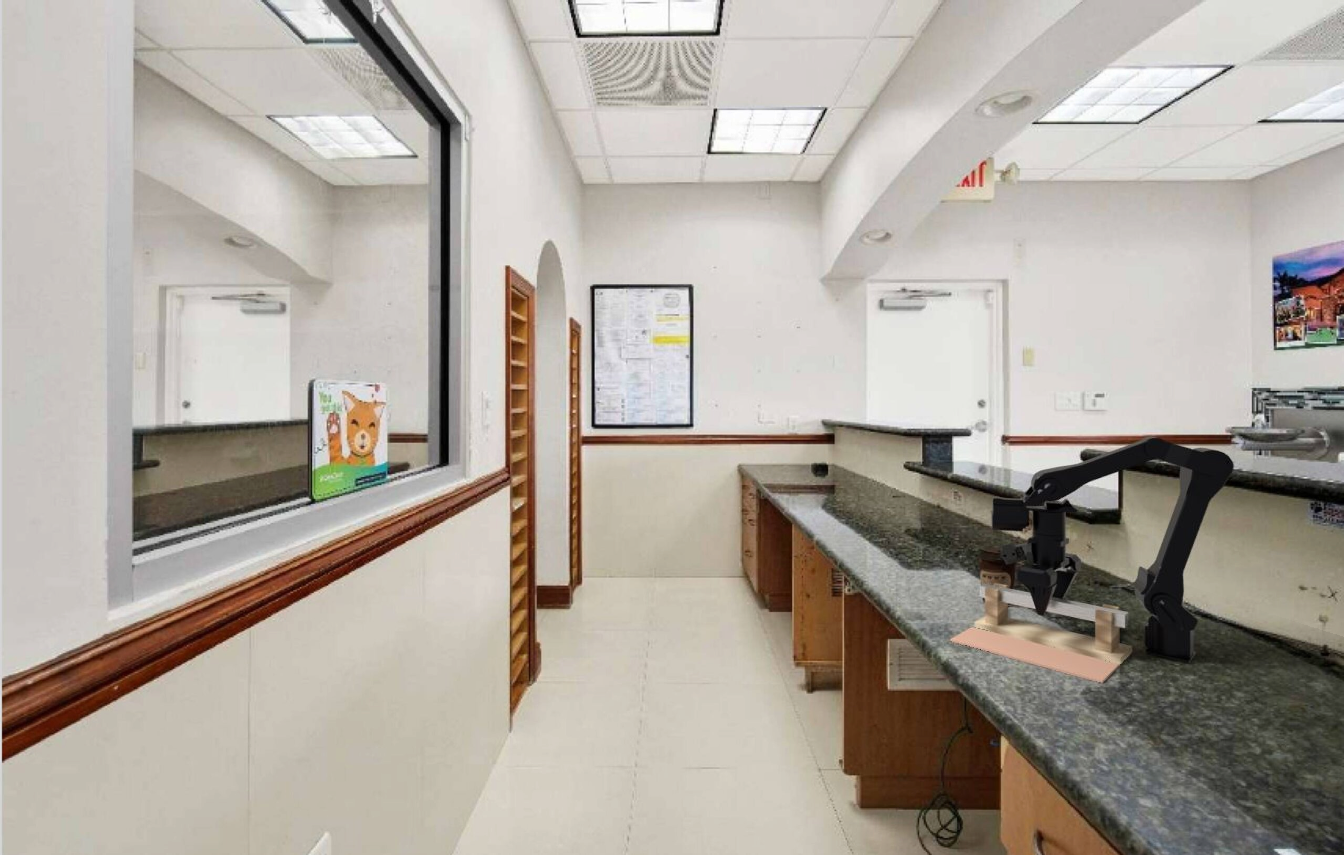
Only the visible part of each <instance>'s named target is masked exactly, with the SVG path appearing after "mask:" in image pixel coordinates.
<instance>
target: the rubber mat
mask: <svg viewBox="0 0 1344 855" xmlns="http://www.w3.org/2000/svg"><path fill="white" fill-rule="evenodd" d="M949 641H950V642H951V641H952V643H955V644H958V643H959V645H962V646H965V645H967V646H966V647H969V646H970V648H973V647H974V648H973V649H976V648H978V649H977V650H980V649H981V651H984V650H985V651H984V652H987V651H989V652H988V653H992V654H995V655H999V656H1001V657H1005V658H1010V659H1013V660H1017V661H1020V662H1024V663H1027V664H1031V665H1034V666H1039V667H1042V668H1046V669H1049V670H1053V671H1057V672H1059V671H1060V673H1064V674H1066V675H1067V674H1068V675H1071V676H1074V677H1078V678H1081V679H1084V680H1085V679H1086V680H1089V681H1093V682H1096V681H1097V682H1096V683H1099V682H1101V683H1100V684H1103V683H1104V682H1105V681H1107V679H1109V677H1110V676H1111V675H1112V674H1113V673H1114V672H1115V671H1116V670H1117V669H1118V668H1119V667H1120V664H1117V663H1113V662H1109V661H1105V660H1101V659H1097V658H1093V657H1089V656H1085V655H1081V654H1077V653H1073V652H1069V651H1065V650H1062V649H1058V648H1054V647H1050V646H1046V645H1042V644H1038V643H1034V642H1030V641H1026V640H1022V639H1018V638H1014V637H1010V636H1006V635H1002V634H998V633H994V632H990V631H986V630H982V629H978V628H974V626H971V627H970V628H968V629H965V630H964V631H963V632H960V633H959V634H957V635H955V636H953V637H952V638H951V639H949Z"/></svg>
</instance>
